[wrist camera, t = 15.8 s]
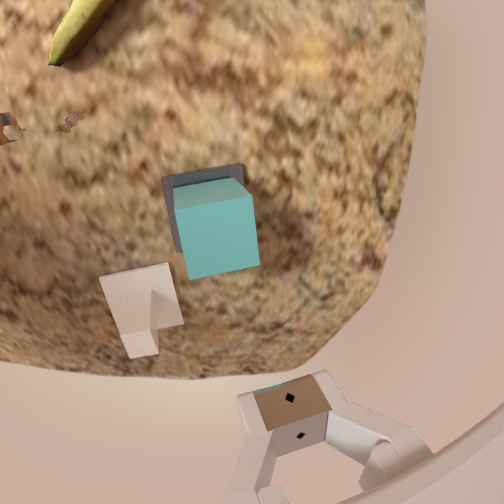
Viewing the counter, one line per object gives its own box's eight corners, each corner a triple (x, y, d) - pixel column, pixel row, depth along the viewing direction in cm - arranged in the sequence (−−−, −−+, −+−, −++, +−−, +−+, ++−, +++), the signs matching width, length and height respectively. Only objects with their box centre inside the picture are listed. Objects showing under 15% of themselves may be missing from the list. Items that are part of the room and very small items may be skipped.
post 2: (176, 250, 30) (179, 287, 23) (161, 177, 27) (159, 196, 20) (249, 235, 31) (271, 268, 25) (240, 162, 28) (262, 177, 22)
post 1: (121, 333, 32) (115, 379, 25) (99, 276, 29) (85, 317, 22) (183, 321, 33) (189, 367, 27) (168, 262, 30) (169, 301, 24)
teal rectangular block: (184, 244, 28) (189, 280, 23) (173, 188, 26) (174, 210, 20) (240, 233, 29) (260, 265, 24) (233, 177, 27) (252, 195, 21)
